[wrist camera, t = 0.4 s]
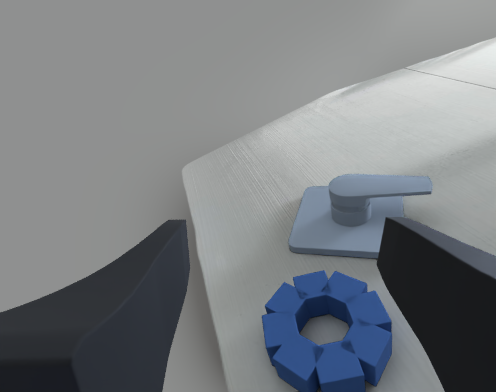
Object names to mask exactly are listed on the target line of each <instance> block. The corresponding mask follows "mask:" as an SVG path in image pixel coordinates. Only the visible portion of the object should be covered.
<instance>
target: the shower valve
mask: <svg viewBox="0 0 496 392" xmlns="http://www.w3.org/2000/svg"><path fill="white" fill-rule="evenodd" d="M431 193H432V181H431V179H430V178H429V177H428V176H398V175H367V174H347V175H342V176H338V177H336V178H334V179H333V180H332V181H331V182H330V183H329V186H312V187H308V188H307V189H306V190H305V191H304V194H303V198H302V201H301V204H300V207H299V210H298V213H297V216H296V219H295V222H294V225H293V228H292V231H291V234H290V237H289V241H288V242H289V247H290V250H291V251H292V252H295V253H305V254H319V255H334V256H348V257H363V258H377V259H378V254H379V249H380V244H381V239H382V234H383V228H384V223H385V218H386V217H403V203H402V196H410V195H426V194H431Z"/></svg>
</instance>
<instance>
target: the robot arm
mask: <svg viewBox="0 0 496 392" xmlns="http://www.w3.org/2000/svg"><path fill="white" fill-rule="evenodd" d="M377 266H378V269H379V271H380V274H381V276H382V279H383V281H384V283H385V285H386V287H387V289H388V291H389V293H390V294H391V296H392V298H393V299H394V301H395V302H396V304H397V306H398V307H399V309H400V311H401V312H402V314H403V315H404V317H405V319H406V320H407V322H408V323H409V325H410V327H411V328H412V330H413V331H414V333H415V335H416V336H417V338H418V339H419V341H420V343H421V344H422V346H423V348H424V350H425V352H426V353H427V355H428V357H429V359H430V361H431V363H432V365H433V367H434V370H435V372H436V374H437V376H438V378H439V380H440V382H441V384H442V386H443V388H444V391H445V392H496V256H494V255H492V254H489V253H487V252H484V251H482V250H480V249H477V248H475V247H472V246H470V245H468V244H465V243H463V242H461V241H458V240H456V239H454V238H452V237H450V236H447V235H445V234H443V233H441V232H439V231H436V230H434V229H432V228H430V227H427V226H425V225H423V224H421V223H418V222H416V221H413V220H411V219H408V218H405V217H386V218H385V223H384V228H383V234H382V239H381V244H380V249H379V254H378V260H377ZM189 271H190V263H189V250H188V239H187V228H186V220H168V221H166V222H165V223H164V224H162V225H161V226H160V227H159V228H158V229H156V230H155V231H154V232H153V233H151V234H150V235H149V236H148V237H146V238H145V239H144V240H143V241H141V242H140V243H139V244H137V245H136V246H135V247H134V248H132V249H131V250H129V251H128V252H126V253H125V254H123V255H122V256H121V257H119V258H118V259H116V260H115V261H113V262H112V263H110V264H108V265H107V266H105V267H104V268H102V269H100V270H98V271H97V272H95V273H93V274H91V275H89V276H88V277H86V278H84V279H82V280H79V281H77V282H75V283H73V284H71V285H69V286H67V287H65V288H63V289H61V290H59V291H56V292H54V293H52V294H49V295H47V296H44V297H42V298H40V299H37V300H34V301H32V302H29V303H27V304H24V305H21V306H19V307H16V308H13V309H10V310H7V311H4V312H1V313H0V392H162V390H163V384H164V378H165V372H166V367H167V361H168V357H169V353H170V348H171V345H172V341H173V338H174V334H175V331H176V327H177V324H178V320H179V317H180V313H181V310H182V306H183V303H184V299H185V295H186V292H187V285H188V278H189Z"/></svg>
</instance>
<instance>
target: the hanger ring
mask: <svg viewBox="0 0 496 392" xmlns="http://www.w3.org/2000/svg"><path fill="white" fill-rule="evenodd" d="M293 281H294V285H295V287H293V286H291V285H289V284H287V283H285V282H284V283H283V284H282V286H281V287H280V288H279V289H278V290H277V292H276V293H275V294H274V295H273V296H272V298H271V299H270V300H269V301H268V302H267V304H266V305H265V308H266V311H267V314H266V315H262V321H263V329H264V337H265V344H266V349H267V352H268V355H269V358H270V360H271V363H272V366H275V367H276V370H277V373H278V376H279V377H280V378H282V379H283V380H284V381H286V382H287V383H289V384H290V385H291V386H293V387H294V388H296V389H297V390H298V391H300V392H316V391H317V389H318V387H319V386H320V388H321V392H365V381H367V382H369V383H371V384H372V385H374V386H376V385H377V383H378V381H379V379H380V377H381V375H382V373H383V371H384V369H385V367H386V364H387V362H388V360H389V358H390V356H391V354H392V333H391V319H390V318H389V316H388V314H387V312H386V310H385V308H384V306H383V304H382V302H381V300H380V298H379V297H378V295H377V293H376V291H371V292H367V283H364V282H362V281H359V280H357V279H354V278H352V277H349V276H347V275H344V274H342V273H339V272H337V271H335V272H334V273H333V274H332V276H331V277H330V279H329V280H328V278H327V275H326V273H325V271H324V270H323V271H319V272H314V273H310V274H305V275H301V276H296V277H293ZM326 314H330V315H332V316H334V317H336V318H339V319H341V320H343V321H345V322H347V323H348V325H349V328H350V329H349V331H348V332H347V334H346V336H345V337H344V339H343V341H338V342H333V343H328V344H324V345H317V344H315V343H314V342H312V341H310V340H308V339H307V338H305V337H303V336H301V335H300V334H299V333H300V331H301V330H302V328H303V327H304V326H305V324H306V323H307V321H308V320H309V318H312V317H317V316H321V315H326Z"/></svg>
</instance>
